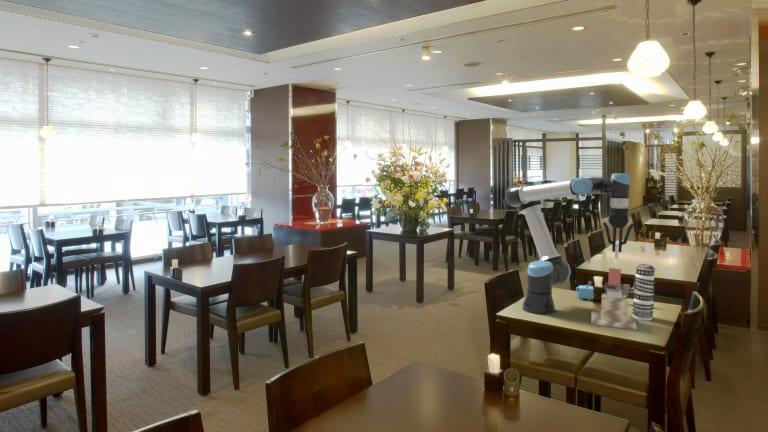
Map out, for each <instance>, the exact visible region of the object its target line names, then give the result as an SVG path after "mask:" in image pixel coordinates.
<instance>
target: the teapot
mask: <svg viewBox="0 0 768 432" xmlns="http://www.w3.org/2000/svg"><path fill="white" fill-rule="evenodd" d="M593 287H594V286H591V285H587V284H584V285H580V284H579V286H577V287H576V288H575V290H576V295H577V296H578V298H577V299H580V300H581V301H583V300H585V299H586V300H587V301H591V300H594V296H595V295H594V288H593Z"/></svg>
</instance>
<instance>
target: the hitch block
mask: <svg viewBox="0 0 768 432" xmlns="http://www.w3.org/2000/svg"><path fill="white" fill-rule="evenodd" d="M620 284H621V287H620V289H621V290H622V299H614V298H607V288H608V287H609V286H608V282H605V283H604V293H601V303H600V304H601V305H600V307H601V308H600V311H591V314H590V315H591V316H590V318H591V325H595V326H604V327H612V328H620V329H629V330H637V323H636V320H635V319H636V318H634V316H632V315H627V313H628V312H627V309H628V297H627V298H626V296H625V295H623V284H624V283H620Z"/></svg>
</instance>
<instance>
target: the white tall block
mask: <svg viewBox="0 0 768 432" xmlns="http://www.w3.org/2000/svg"><path fill="white" fill-rule="evenodd" d="M607 298H614V299H622V290H619V289H617V288H608V287H607Z"/></svg>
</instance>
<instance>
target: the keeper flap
mask: <svg viewBox="0 0 768 432" xmlns="http://www.w3.org/2000/svg"><path fill="white" fill-rule="evenodd" d="M621 275H622V269H621V268H615V267H612V268H611V267H608V278H607V279H608V282H607V283H608V286H607V287H615V286H616V287H620V284H621ZM620 288H621V287H620Z"/></svg>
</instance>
